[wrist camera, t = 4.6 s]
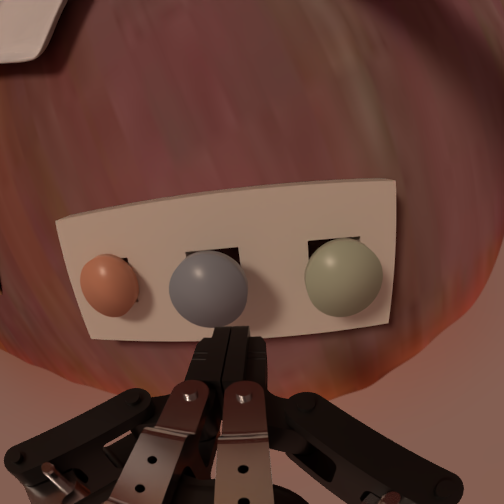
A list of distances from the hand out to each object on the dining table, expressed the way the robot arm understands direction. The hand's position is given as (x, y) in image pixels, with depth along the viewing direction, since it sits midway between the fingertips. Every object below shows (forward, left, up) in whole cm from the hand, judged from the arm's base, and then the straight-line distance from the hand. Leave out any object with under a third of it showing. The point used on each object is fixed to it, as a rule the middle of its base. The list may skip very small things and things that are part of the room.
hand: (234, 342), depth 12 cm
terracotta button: (+8, -8, -12) cm, 16 cm away
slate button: (+2, -2, -10) cm, 10 cm away
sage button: (-4, +5, -10) cm, 12 cm away
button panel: (+2, -1, -12) cm, 12 cm away
